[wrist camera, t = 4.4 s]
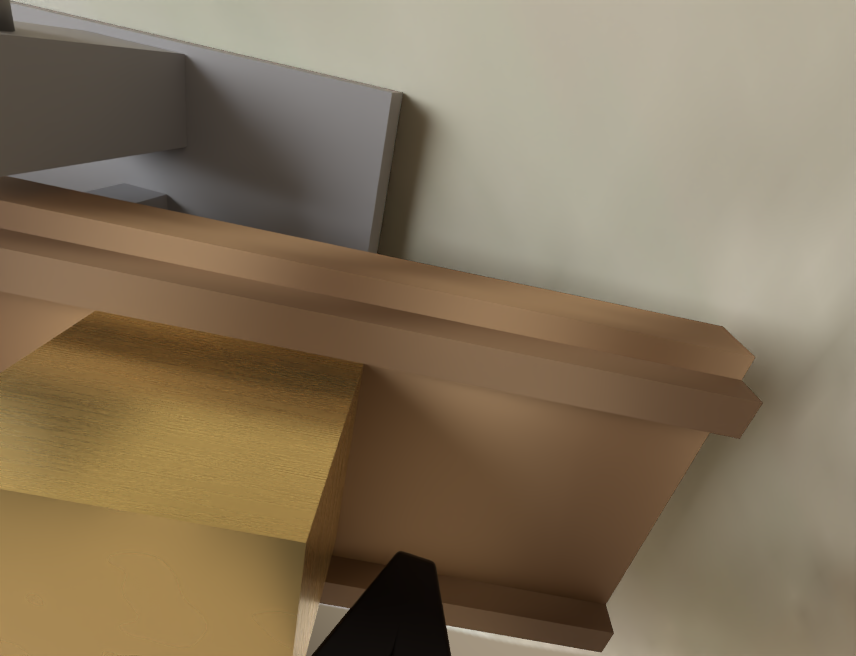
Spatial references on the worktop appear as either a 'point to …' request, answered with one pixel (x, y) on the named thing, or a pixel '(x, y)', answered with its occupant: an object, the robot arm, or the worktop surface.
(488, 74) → the worktop surface
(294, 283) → the balance beam
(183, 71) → the pivot stand
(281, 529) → the block
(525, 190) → the worktop surface
